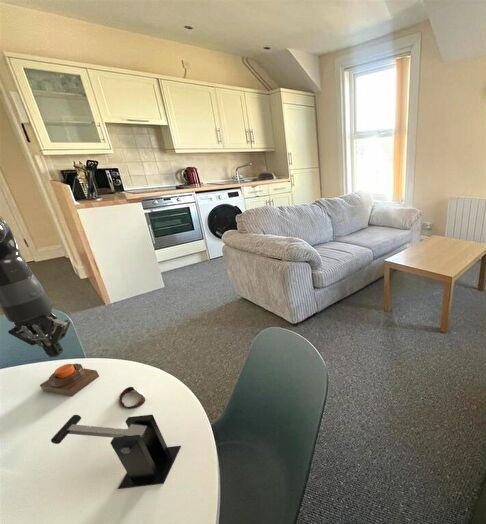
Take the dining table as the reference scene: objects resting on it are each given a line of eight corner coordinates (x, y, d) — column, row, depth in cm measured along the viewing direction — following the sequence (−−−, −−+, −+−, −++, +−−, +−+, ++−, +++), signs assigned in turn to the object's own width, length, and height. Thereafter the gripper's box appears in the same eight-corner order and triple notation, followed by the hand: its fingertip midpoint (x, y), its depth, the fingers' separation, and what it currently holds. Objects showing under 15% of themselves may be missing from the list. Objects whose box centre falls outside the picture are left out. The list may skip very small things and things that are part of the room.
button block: (43, 391, 75) (35, 380, 74) (71, 371, 81) (65, 361, 80) (72, 396, 73) (65, 385, 71) (99, 376, 79) (93, 365, 78)
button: (53, 377, 74) (50, 372, 74) (68, 367, 78) (65, 362, 77) (64, 379, 74) (61, 374, 73) (78, 369, 77) (76, 364, 76)
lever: (51, 445, 48) (49, 435, 47) (73, 421, 52) (71, 412, 51) (136, 452, 50) (136, 443, 49) (151, 428, 54) (151, 419, 53)
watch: (152, 401, 70) (147, 391, 69) (130, 416, 67) (125, 405, 65) (137, 389, 74) (132, 378, 73) (116, 402, 71) (111, 391, 69)
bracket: (120, 492, 52) (94, 449, 47) (142, 453, 58) (121, 413, 54) (165, 486, 53) (144, 444, 48) (182, 449, 59) (165, 408, 54)
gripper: (65, 286, 70) (94, 342, 77) (8, 291, 69) (42, 347, 76) (37, 302, 63) (71, 362, 70) (-27, 308, 63) (15, 368, 70)
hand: (56, 354), depth 73 cm, fingers closed
